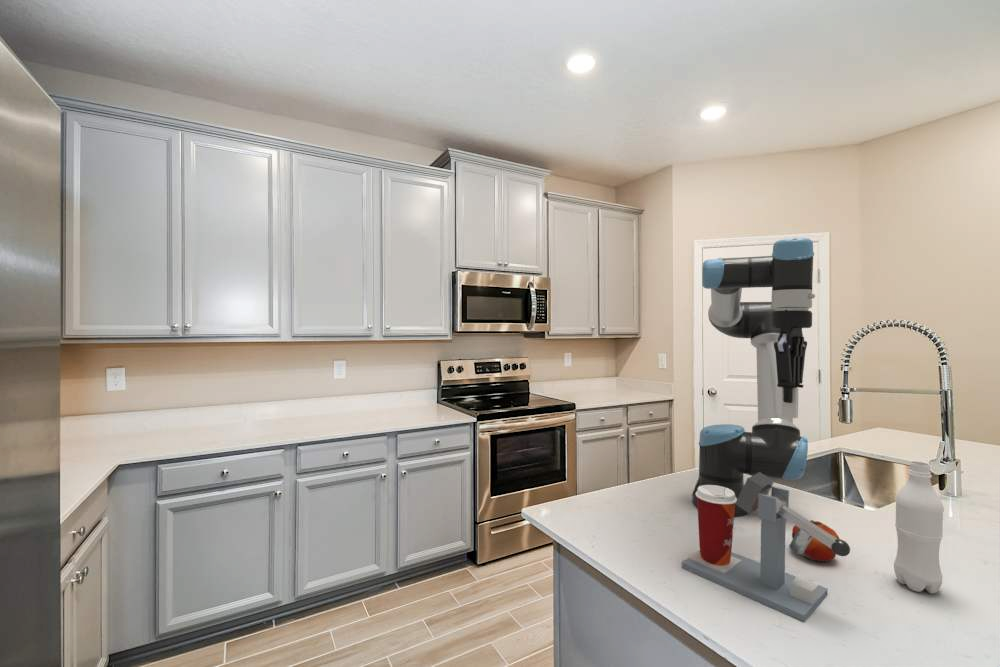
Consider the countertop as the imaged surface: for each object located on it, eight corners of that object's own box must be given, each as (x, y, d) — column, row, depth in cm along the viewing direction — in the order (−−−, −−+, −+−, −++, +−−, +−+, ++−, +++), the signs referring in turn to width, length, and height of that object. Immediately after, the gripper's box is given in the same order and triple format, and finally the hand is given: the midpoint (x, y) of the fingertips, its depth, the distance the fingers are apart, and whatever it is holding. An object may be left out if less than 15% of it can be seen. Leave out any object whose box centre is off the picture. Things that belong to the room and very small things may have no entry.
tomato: (826, 571, 97) (826, 534, 97) (782, 551, 105) (783, 517, 105) (849, 560, 101) (849, 525, 101) (805, 543, 109) (806, 510, 109)
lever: (730, 512, 93) (747, 478, 91) (743, 505, 97) (759, 472, 94) (829, 582, 80) (853, 544, 77) (840, 570, 84) (862, 534, 81)
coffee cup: (741, 570, 94) (742, 498, 94) (699, 565, 96) (700, 495, 96) (729, 550, 102) (730, 484, 102) (690, 547, 104) (691, 482, 104)
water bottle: (884, 577, 94) (886, 458, 94) (915, 575, 95) (918, 457, 95) (918, 598, 87) (921, 469, 87) (952, 596, 88) (955, 468, 87)
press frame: (681, 567, 98) (683, 478, 98) (710, 549, 106) (711, 466, 106) (804, 622, 80) (806, 512, 80) (827, 594, 88) (829, 495, 88)
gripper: (800, 308, 92) (798, 423, 93) (821, 310, 101) (819, 416, 101) (760, 309, 98) (759, 417, 99) (783, 311, 106) (782, 410, 107)
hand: (789, 416), depth 100 cm, fingers closed
